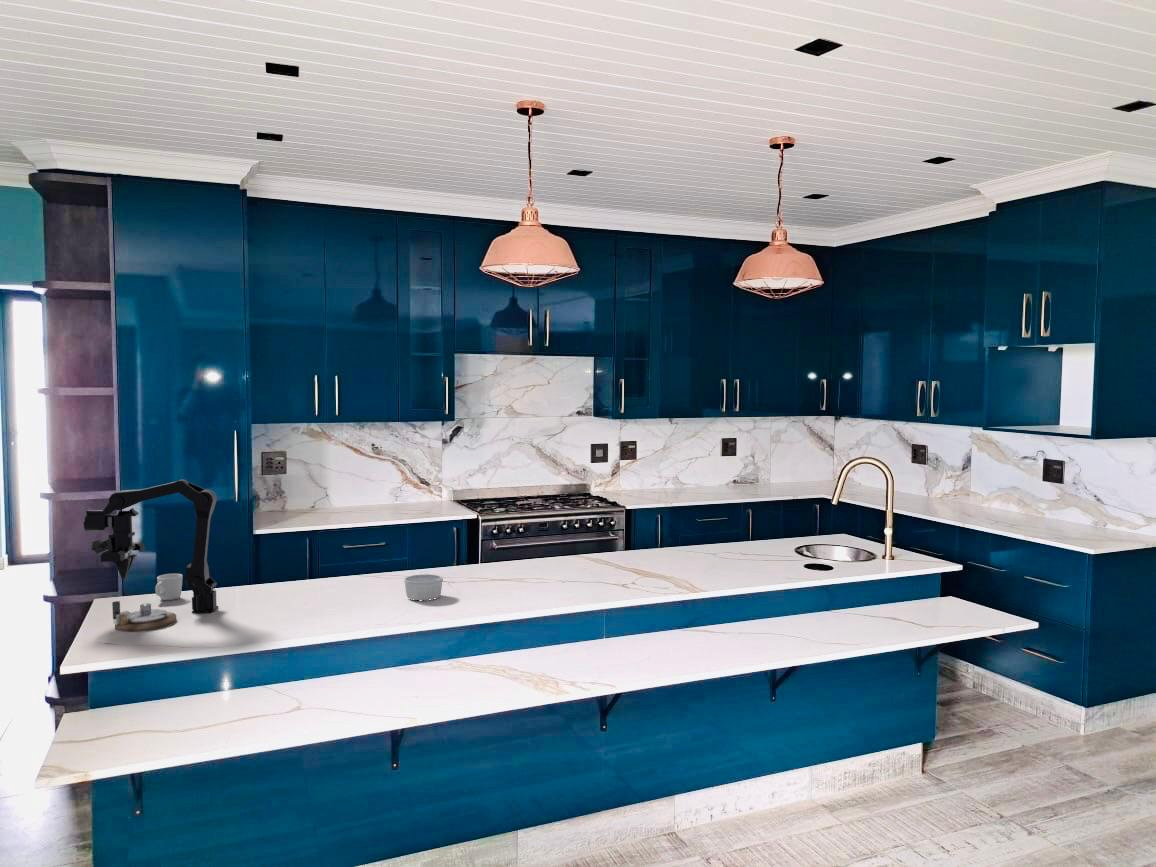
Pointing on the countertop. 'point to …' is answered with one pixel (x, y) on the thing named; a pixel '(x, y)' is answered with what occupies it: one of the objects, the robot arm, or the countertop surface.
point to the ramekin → (423, 586)
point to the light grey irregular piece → (138, 614)
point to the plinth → (145, 624)
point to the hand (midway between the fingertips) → (123, 578)
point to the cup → (169, 586)
